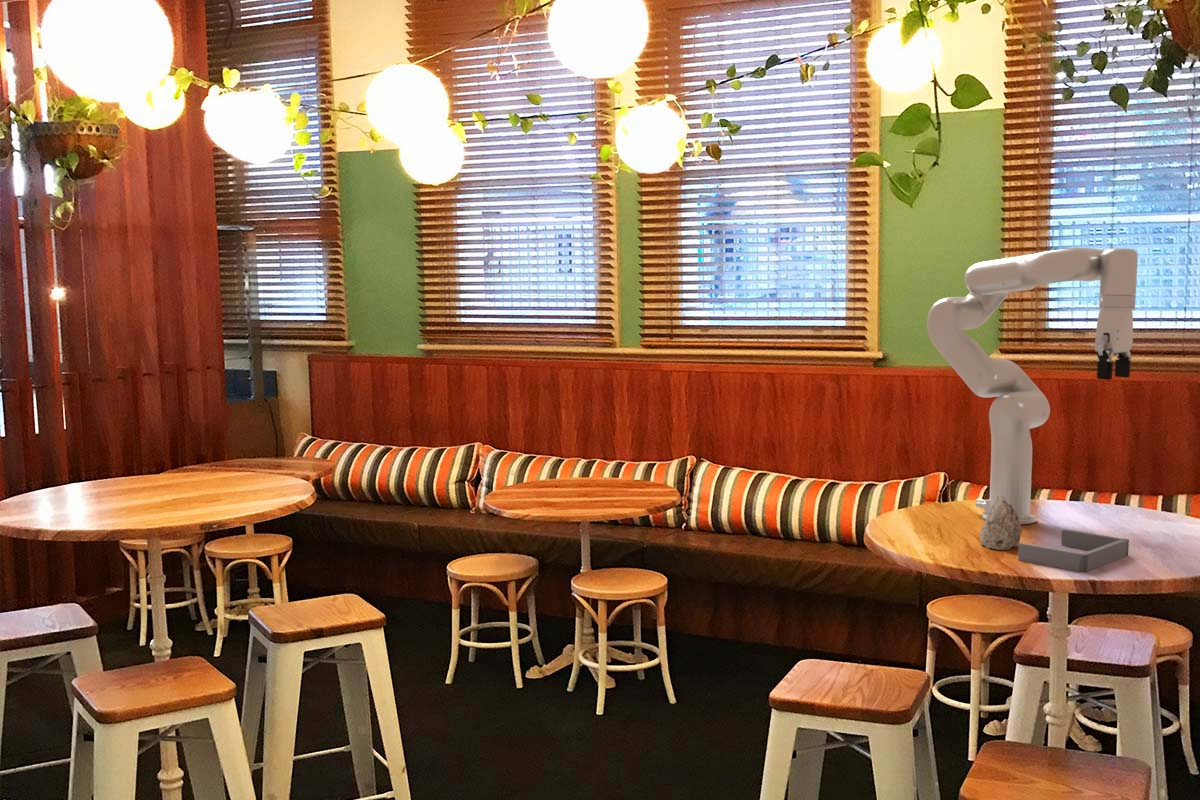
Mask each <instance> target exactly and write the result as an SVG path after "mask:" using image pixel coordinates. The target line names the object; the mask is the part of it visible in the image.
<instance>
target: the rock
mask: <svg viewBox="0 0 1200 800" xmlns="http://www.w3.org/2000/svg"><path fill="white" fill-rule="evenodd" d="M1022 530H1023V529H1022V524H1020V521H1019V517H1018V514H1017V512H1016V511H1015V510H1014V508H1013V505H1011V504H1008V502H1007V501H1006V499H1005V498H1004V497H1003V496H998V497H997V499H996V500H995V501H994V503H993V506H992V508H991V510H990V511H989V514H988V515H987V518H986V520H985V519H984V523H983V524H982V527H981V529H980V531H979V541H980V543H981V545H983V547H985V548H986V549H989V550H996V551H997V550H998V551H1000V550H1001V551H1002V550H1003V551H1009V550H1010V549H1011V548H1013V547H1019V543H1020V541H1021V536H1022ZM991 548H992V549H991Z"/></svg>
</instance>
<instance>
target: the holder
mask: <svg viewBox="0 0 1200 800" xmlns="http://www.w3.org/2000/svg"><path fill="white" fill-rule="evenodd" d="M1129 541H1130V539H1128V538H1121V537H1116V536H1110V535H1109V536H1108V535H1104V534H1103V535H1102V534H1097V533H1092V532H1091V533H1090V532H1085V531H1079V530H1078V531H1077V530H1072V529H1066V528H1064V529H1061V544H1060V546H1065V547H1069V548H1075V549H1081V550H1086V551H1085V552H1082V553H1081V552H1078V551H1077V552H1076V551H1072V550H1071V551H1070V550H1065V549H1059V548H1054V547H1048V546H1042V545H1036V544H1033V543H1032V544H1031V543H1025V542H1019V544H1018V550H1017V551H1018V553H1017V555H1018V557H1017V558H1018V559H1017V560H1019V561H1022V562H1028V563H1032V564H1039V565H1043V566H1044V565H1045V566H1048V567H1049V566H1050V567H1054V568H1055V567H1056V568H1059V569H1060V568H1061V569H1066V570H1071V571H1076V572H1082V573H1086V572H1088V571H1091V570H1094V569H1096V568H1099V567H1101V566H1105V565H1107V564H1110V563H1112V562H1115V561H1117V560H1120V559H1122V558H1125V557H1128V556H1129V549H1130V548H1129V546H1130V545H1129V544H1130V542H1129Z"/></svg>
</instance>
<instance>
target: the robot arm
mask: <svg viewBox="0 0 1200 800" xmlns="http://www.w3.org/2000/svg"><path fill="white" fill-rule="evenodd" d="M1138 260H1139V259H1138V252H1137V250H1136V249H1133V248H1108V249H1097V248H1089V247H1069V248H1068V247H1067V248H1063V249H1062V248H1061V249H1056V250H1049V251H1043V252H1037V253H1030V254H1024V255H1018V256H1017V255H1016V256H1011V257H1004V258H997V259H989V260H985V261H979V262H976V263H974V264H972V265H971V266H969V267H968V268H967V270H966V271H965V274H964V283H965V287H966V288H967V290H968V291H969V292H968V294H967V295H966V296H949V297H944V298H942V299H939V300H937V301H936V302H934V304H933V305H931V307H930V309H929V311H928V314H927V320H926V330H927V334H928V337H929V339H930V341H931V343H932V345H933V346H934V347H935V349H936V350H937V351H938V353H940V355H941V356H942V357H943V358H944V359H945V360H946V361H947V363H948V364H949V365H950V366H951V367H952V369H953V370H954V371H955V372H956V374H957V375H958V376H959V377H960V378H961V379H962V381H963V382H964V384H965V385H967V387H968V388H969V389H970V390H971V392H972V393H973V394H974V395H976V396H978V397H980V398H985V399H986V398H988V399H989V398H995V399H994V400H993V401H992V403H991V404H990V408H989V410H988V418H989V419H988V421H989V428H990V436H991V437H990V438H991V439H990V440H991V444H990V445H991V446H990V447H991V449H990V450H991V451H990V476H989V477H990V478H989V481H990V482H989V499H988V498H987V499H983V498H976V499H975V500H976V501H975V507H976V508H983V509H984V511H983V512H982V514H981V516H982V519H983V520H984V521H985V520H986V518H987V515H988V514H989V511H990V510H991V508H992V506H993V503H994V501H995V500H996V499H997V497H998V496H1003V497H1004V498H1005V499H1006V501H1007V502H1008V504H1011V505H1013V508H1014V510H1015V511H1016V512H1017V514H1018V517H1019V521H1020V524H1021V525H1030V524H1034V523H1037V516H1036V515H1034V514H1032V513H1031V496H1032V495H1031V493H1032V492H1031V491H1032V473H1033V472H1032V469H1033V442H1032V441H1033V440H1032V437H1031V431H1030V429H1035V428H1038V427H1040V426H1043V425H1044V424H1045V423H1046V422H1047V421H1048V419H1049V417H1050V414H1051V406H1050V403H1049V401H1048V399H1047V397H1046V395H1045V394H1044V393H1043V391H1041V390H1040V389H1039V387H1038V386H1037V385H1036V384H1035V383H1034V382H1033V380H1032V379H1031V378H1030V377H1029V376H1028V374H1027V373H1025V371H1024V370H1023V369H1022V368H1021V367H1020V366H1019V365H1018V364H1016V363H1015V362H1013V361H1012V360H1010V359H1006V358H992V357H991V356H990V355H989V354H988V353H987V352H986V351H985V350H984V349H983V348H982V347H981V345H980V344H979V343H978V342H977V341H976V340H975V339H973V338H972V337H971V336H970V335H968V334H967V333H966V331H969V330H975V329H978V328H979V327H981V326H982V325H983V324H985V323H986V322H987V321H988V320H989V319H990V318H991V316H992V315H993V314H994V313H995V311H996V310H997V309H998V308H999V307H1000V306H1001V304H1002V303H1003V302H1004V301H1005V300H1006V299H1007V297H1008V296H1009V294H1010V293H1014V292H1024V291H1031V290H1034V289H1035V288H1036V287H1037V286H1041V285H1042V286H1044V285H1049V284H1056V283H1057V284H1058V283H1063V282H1077V281H1078V282H1080V281H1082V282H1091V281H1093V282H1094V281H1100V282H1099V298H1098V300H1099V303H1098V309H1099V312H1098V317H1097V323H1096V330H1095V341H1094V350H1095V352H1096V356H1097V357H1096V358H1097V359H1096V361H1097V365H1096V366H1097V371H1096V379H1098V380H1106V381H1108V380H1109V381H1110V380H1112V379H1113V366H1114V377H1117V378H1130V376H1131V362H1132V361H1131V360H1132V352H1133V349H1132V348H1133V344H1134V339H1133V338H1134V320H1133V319H1134V317H1133V316H1134V315H1133V310H1134V311H1135V310H1136V300H1137V299H1136V296H1137V281H1138V279H1137V277H1138V276H1137V274H1138ZM964 330H965V331H964ZM1114 355H1116V359H1115V365H1114V363H1113V362H1114V361H1113V358H1114Z"/></svg>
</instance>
